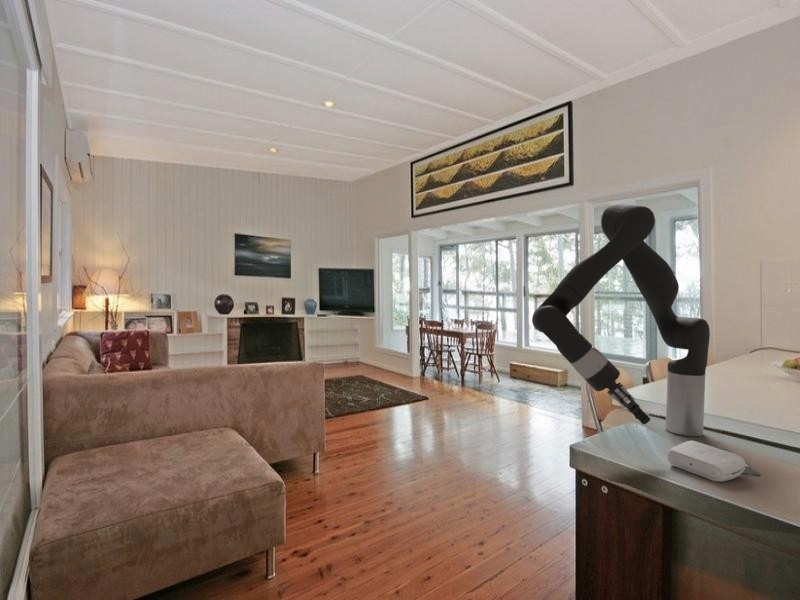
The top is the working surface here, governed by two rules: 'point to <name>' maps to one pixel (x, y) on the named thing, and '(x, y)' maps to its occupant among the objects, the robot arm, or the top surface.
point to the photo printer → (706, 461)
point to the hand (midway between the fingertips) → (646, 421)
